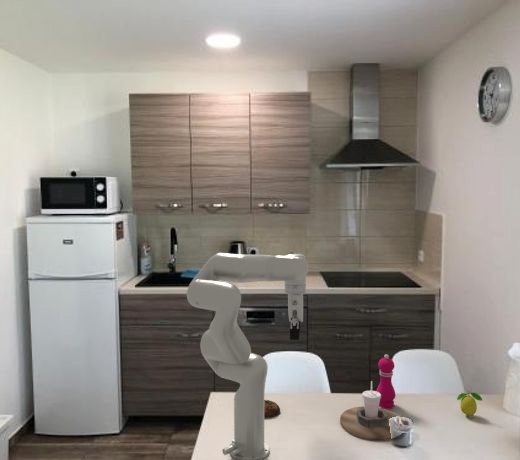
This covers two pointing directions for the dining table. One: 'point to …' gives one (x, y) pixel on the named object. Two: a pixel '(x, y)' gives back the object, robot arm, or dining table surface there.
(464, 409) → the lemon
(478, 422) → the dining table surface
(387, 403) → the pepper mill
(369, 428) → the carrier plate
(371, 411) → the smoothie
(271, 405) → the bread roll
